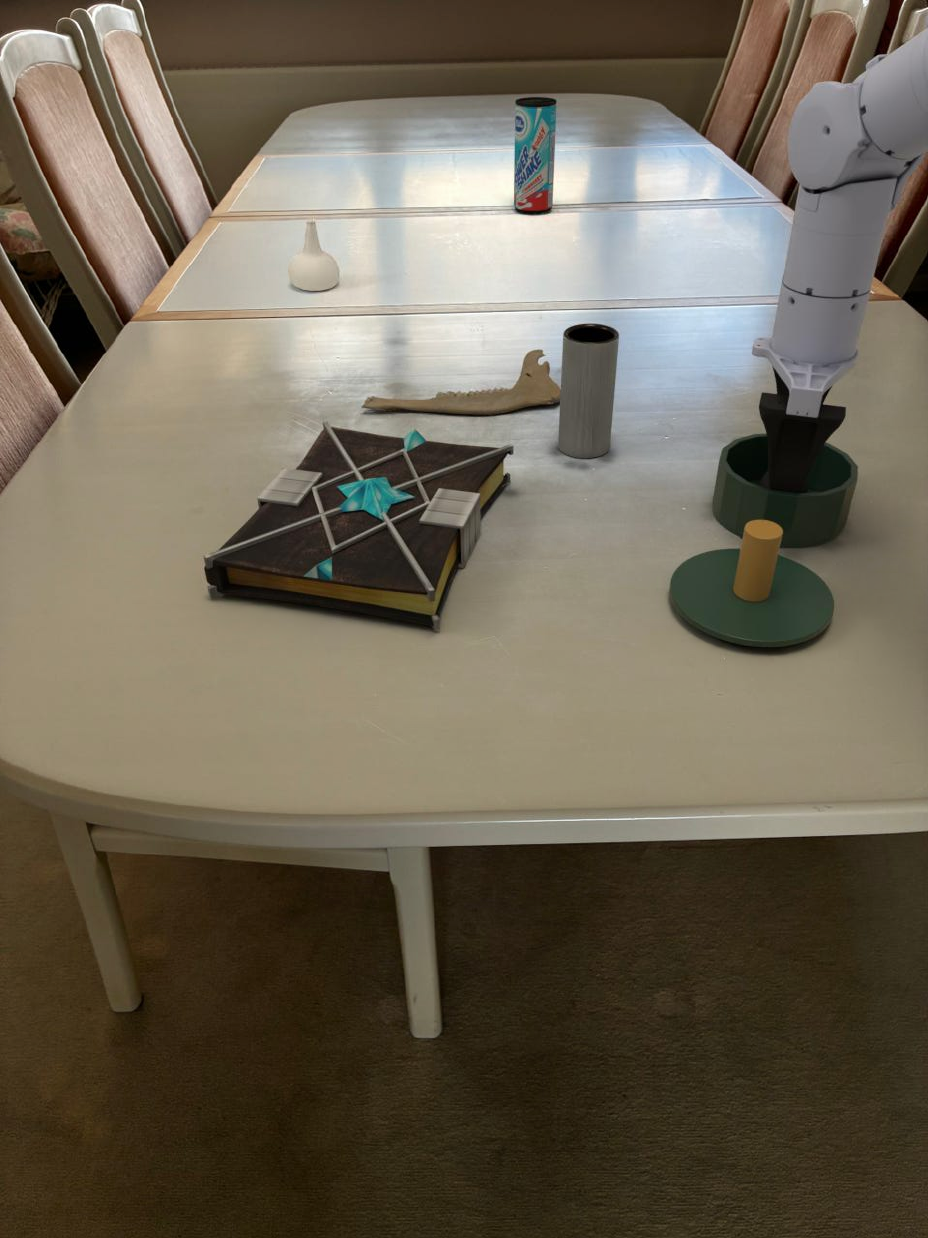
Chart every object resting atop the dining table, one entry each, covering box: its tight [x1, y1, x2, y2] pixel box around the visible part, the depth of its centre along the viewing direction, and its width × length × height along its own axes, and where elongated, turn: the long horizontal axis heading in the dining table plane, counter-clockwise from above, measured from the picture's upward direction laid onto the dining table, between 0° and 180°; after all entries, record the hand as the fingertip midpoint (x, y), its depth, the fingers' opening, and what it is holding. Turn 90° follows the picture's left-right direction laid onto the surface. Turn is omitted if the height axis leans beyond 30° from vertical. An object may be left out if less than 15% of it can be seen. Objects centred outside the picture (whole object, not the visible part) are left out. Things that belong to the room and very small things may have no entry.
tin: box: [711, 433, 859, 549], centre depth 74 cm, size 10×10×4 cm
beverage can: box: [513, 96, 558, 216], centre depth 142 cm, size 6×6×15 cm
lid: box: [669, 520, 835, 648], centre depth 64 cm, size 11×11×6 cm
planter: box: [557, 323, 620, 459], centre depth 81 cm, size 4×4×10 cm
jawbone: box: [361, 349, 561, 416], centre depth 91 cm, size 9×20×2 cm, turn 119°
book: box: [202, 420, 514, 632], centre depth 72 cm, size 22×17×5 cm
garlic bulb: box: [287, 218, 340, 292], centre depth 118 cm, size 6×6×8 cm
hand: (787, 465), depth 72 cm, fingers open, 7 cm apart
